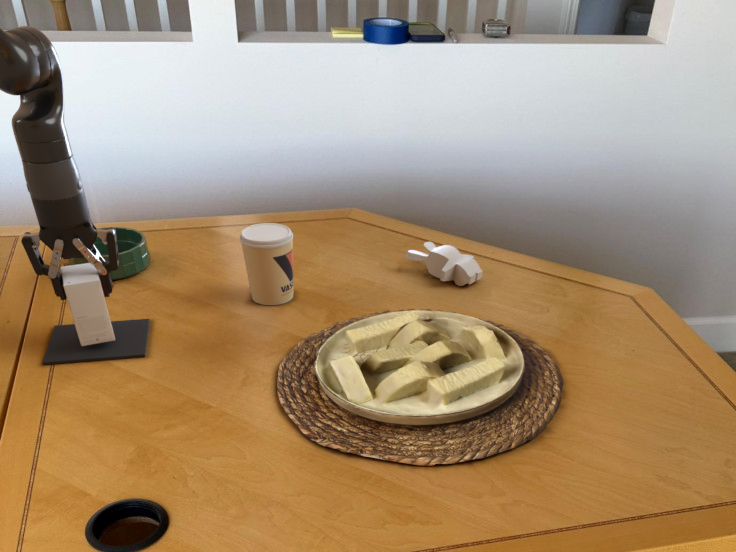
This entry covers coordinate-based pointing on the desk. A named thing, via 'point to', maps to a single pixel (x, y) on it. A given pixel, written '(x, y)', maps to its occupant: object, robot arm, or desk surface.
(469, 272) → the bunny figurine
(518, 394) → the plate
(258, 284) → the coffee cup
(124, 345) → the mat
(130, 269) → the bowl
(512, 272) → the desk surface
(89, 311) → the small box
